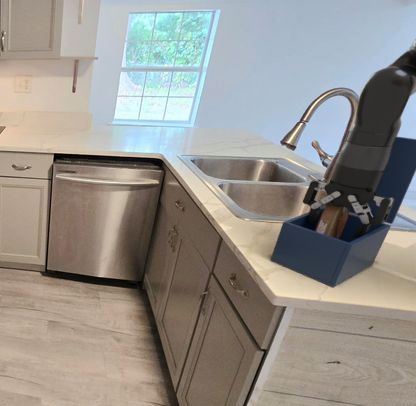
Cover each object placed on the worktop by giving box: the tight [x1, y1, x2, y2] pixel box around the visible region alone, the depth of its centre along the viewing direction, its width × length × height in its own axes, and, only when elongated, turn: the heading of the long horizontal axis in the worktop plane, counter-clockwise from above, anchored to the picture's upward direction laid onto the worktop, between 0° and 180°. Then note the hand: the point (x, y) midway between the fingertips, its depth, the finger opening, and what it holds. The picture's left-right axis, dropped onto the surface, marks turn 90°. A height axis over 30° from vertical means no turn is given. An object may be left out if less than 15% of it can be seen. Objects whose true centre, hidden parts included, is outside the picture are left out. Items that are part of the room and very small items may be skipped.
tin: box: [315, 202, 350, 239], centre depth 87 cm, size 15×3×8 cm
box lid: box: [324, 129, 416, 225], centre depth 85 cm, size 20×13×6 cm
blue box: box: [269, 205, 392, 288], centre depth 87 cm, size 19×13×11 cm
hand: (334, 229), depth 85 cm, fingers open, 8 cm apart
